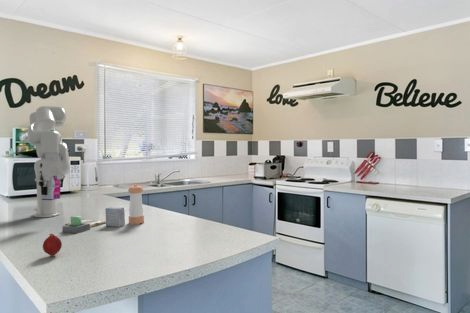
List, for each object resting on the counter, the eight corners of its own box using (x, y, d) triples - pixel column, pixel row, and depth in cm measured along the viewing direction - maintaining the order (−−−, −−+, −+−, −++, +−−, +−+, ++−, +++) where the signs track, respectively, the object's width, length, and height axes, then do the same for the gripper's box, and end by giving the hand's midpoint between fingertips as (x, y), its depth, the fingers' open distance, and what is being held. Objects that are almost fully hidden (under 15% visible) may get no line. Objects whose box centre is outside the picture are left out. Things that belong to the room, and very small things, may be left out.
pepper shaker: (128, 225, 164) (127, 185, 164) (129, 221, 171) (128, 184, 171) (144, 223, 166) (143, 184, 166) (143, 220, 173) (143, 183, 173)
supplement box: (52, 200, 160) (51, 176, 160) (41, 200, 161) (40, 175, 161) (60, 198, 166) (60, 174, 165) (50, 197, 167) (49, 174, 167)
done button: (68, 228, 154) (68, 217, 153) (76, 226, 158) (76, 215, 158) (75, 229, 152) (75, 218, 152) (83, 226, 156) (83, 216, 156)
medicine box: (125, 225, 165) (124, 207, 164) (119, 227, 160) (118, 208, 160) (111, 224, 167) (111, 206, 167) (105, 226, 163) (105, 208, 163)
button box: (62, 231, 153) (62, 226, 153) (77, 227, 160) (76, 222, 160) (75, 233, 150) (75, 227, 150) (89, 229, 157) (89, 223, 157)
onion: (47, 253, 121) (47, 231, 121) (64, 253, 122) (64, 230, 122) (39, 259, 116) (39, 235, 115) (57, 258, 116) (56, 235, 116)
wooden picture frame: (65, 225, 166) (65, 222, 166) (83, 220, 176) (83, 218, 176) (90, 227, 160) (89, 225, 160) (107, 222, 170) (107, 220, 170)
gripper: (38, 157, 153) (40, 197, 154) (70, 156, 169) (71, 191, 170) (27, 157, 156) (28, 196, 157) (59, 155, 172) (60, 190, 173)
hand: (51, 193), depth 164 cm, fingers closed on supplement box, 6 cm apart
